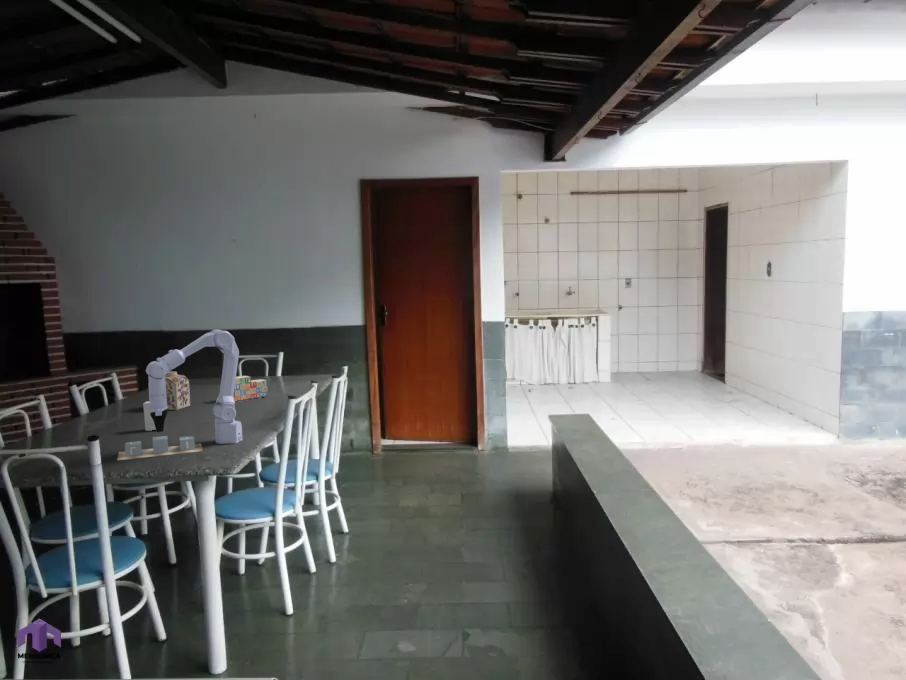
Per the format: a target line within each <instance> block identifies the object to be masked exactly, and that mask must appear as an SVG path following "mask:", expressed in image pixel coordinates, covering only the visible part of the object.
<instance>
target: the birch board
mask: <svg viewBox="0 0 906 680" xmlns="http://www.w3.org/2000/svg"><path fill="white" fill-rule="evenodd" d="M197 452H203V446H202V443H195V449H194V450H184V451H180V445H174V446H173V445H172V446H168V452H166V453H157V454H153V447H152V448H145V449H144V448H143V449H142V448H141V455H139V456H130V457H126V456H125V450H124V451H118V455H117V458H116V460H117V461H124V460H135V459H143V458H144V459H145V458H150V457H151V458H152V457H160V456H168V455H178V454H179V455H180V454H188V453H197Z"/></svg>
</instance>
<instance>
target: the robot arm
mask: <svg viewBox="0 0 906 680" xmlns="http://www.w3.org/2000/svg"><path fill="white" fill-rule="evenodd" d="M235 340H236V339H235V337H234V336H233V335H232V334H231V333H230V332H229V331H227V330H221V329H219V328H218V329H217V328H215V329H212V330H211V331H209V332H206V333H205V334H203V335H201V336H200V337H199V338H197V339H196V340H194V341H192V342H190V343H189V344H187V346H184V347H183V348H181V349H176V348H175V349H170V350H168V353H166V354H165V355H163V356H162V357H157V358H156V360H154V361H151V362H150V363H148V365H147V366H146V368H145V372H146V374H147V375H148V376H147V377H148V383H147V385H148V399H149V402H150V407H146V410H151V411H154V412H151V413H150V416H151V417H152V419H153V421H154V424H155V428H156V433H161V432H164V428H165V427H164V426H165V420H166V417H167V415H168V410H165V409H167V408H168V406H167V396H166V382H165V376H166V375H167V372H172V370H174V369H176V368H177V367H179V366H181V365H182V364H183V363H185V361H186V358H187V357H189V356H191V355H192V354H195V353H196V352H198V351H200V350H202V349H203V348H206V347H216V348H218V350H219V351H221V353H222V354H223V355H224V357H223V363H222V371H221V372H222V373H221V380H220V387H219V394H218V396H217V398H216V400H215V403H214V406H213V407H212V415H213V416H214V417H215V419H214V431H215V432H214V433H215V435H214V436H215V443H216V444H220V445H223V444H238V443H239V442H241V441H243V426H242V422H241V421H239V420H235V418H236V416H237V410H236V407H235V406H236V402H235V401H234V398H233V395H234V387H235V380H236V377H237V372H238V365H239V358H240V357H239V356H240V351H239V350H240V349H239V348H238V345H237V343H236V341H235Z"/></svg>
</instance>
